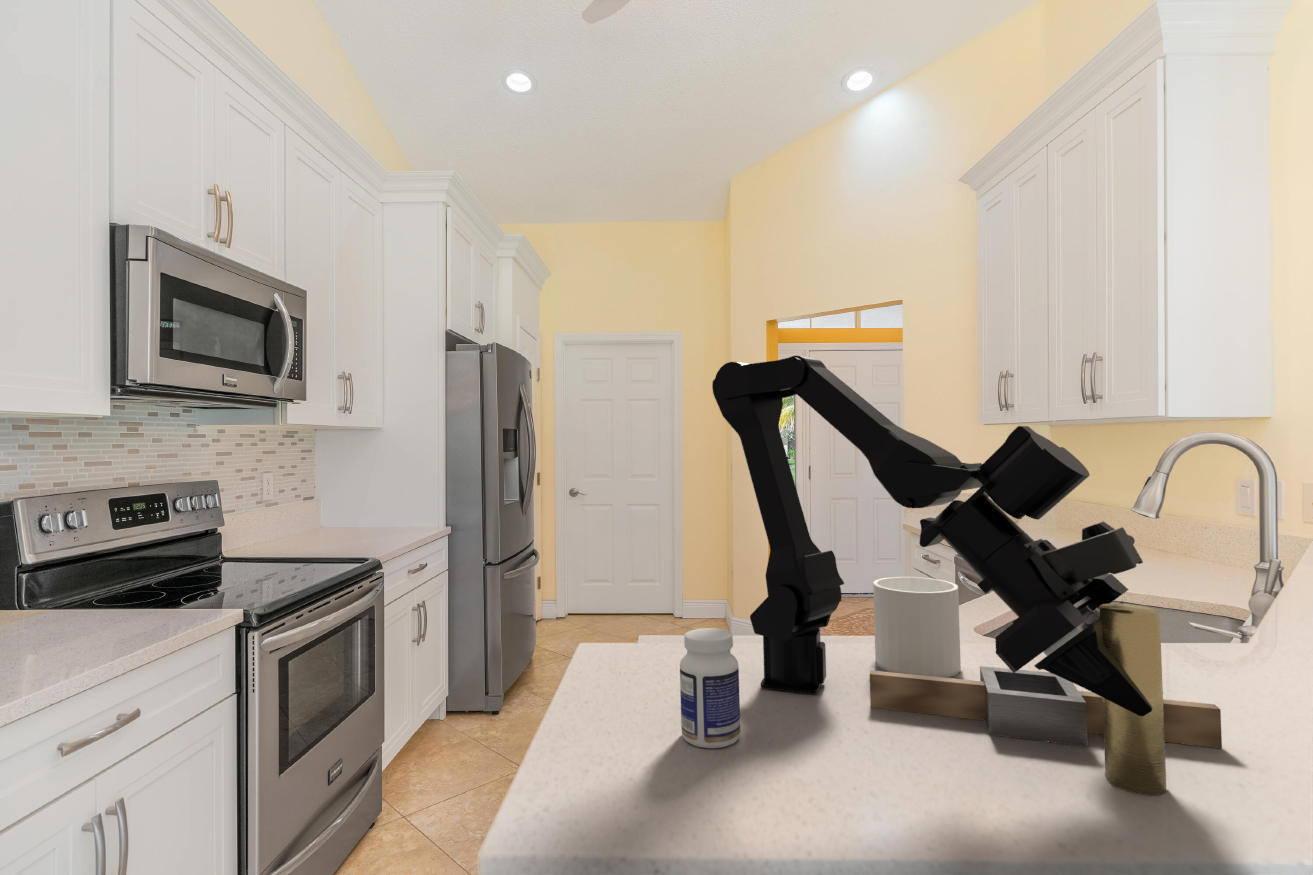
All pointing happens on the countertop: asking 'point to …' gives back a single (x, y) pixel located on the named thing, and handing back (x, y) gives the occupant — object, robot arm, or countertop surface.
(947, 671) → the mug
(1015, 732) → the gray square planter
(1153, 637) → the hinge pin
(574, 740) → the countertop surface
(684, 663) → the pill bottle
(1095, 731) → the hinge leaves
